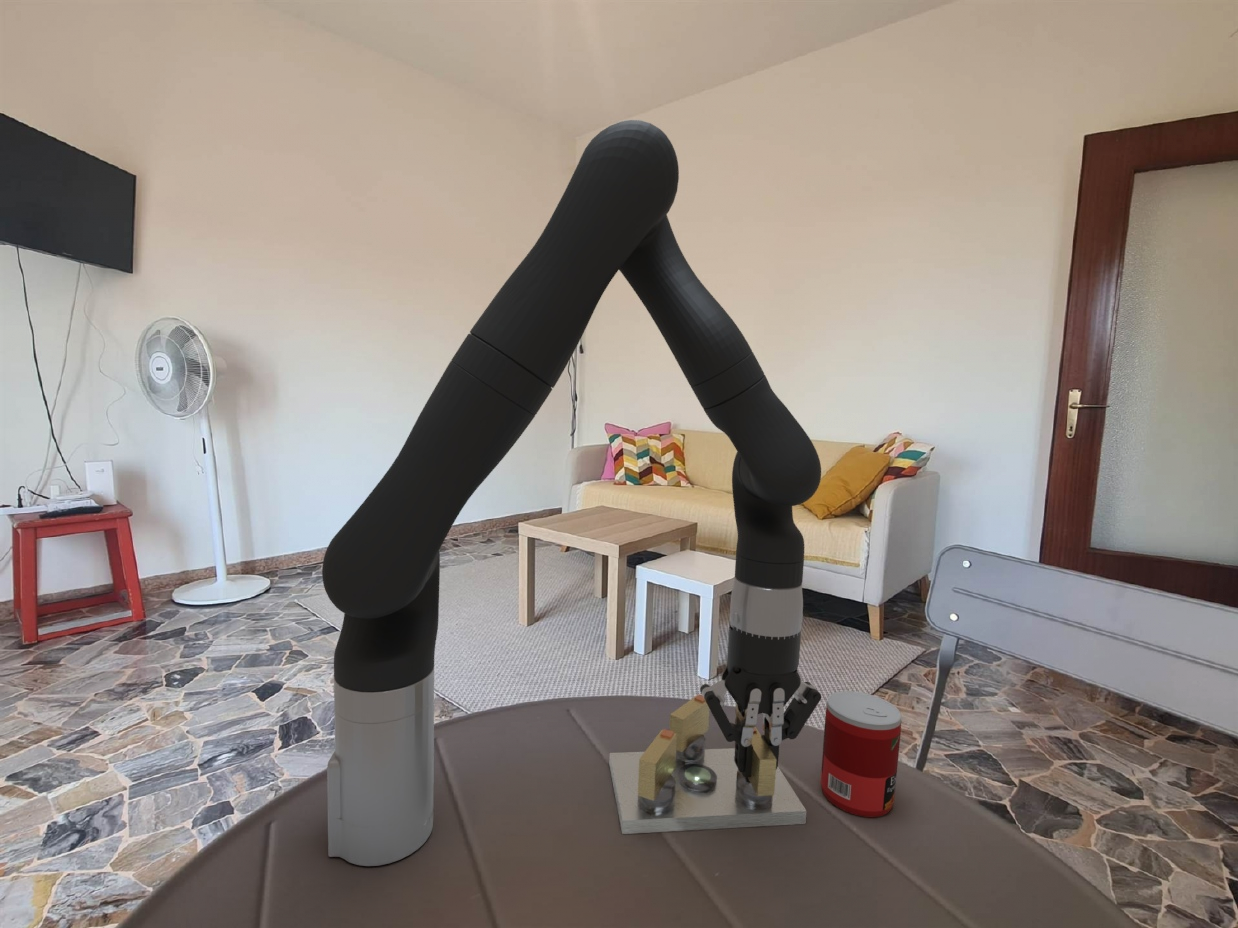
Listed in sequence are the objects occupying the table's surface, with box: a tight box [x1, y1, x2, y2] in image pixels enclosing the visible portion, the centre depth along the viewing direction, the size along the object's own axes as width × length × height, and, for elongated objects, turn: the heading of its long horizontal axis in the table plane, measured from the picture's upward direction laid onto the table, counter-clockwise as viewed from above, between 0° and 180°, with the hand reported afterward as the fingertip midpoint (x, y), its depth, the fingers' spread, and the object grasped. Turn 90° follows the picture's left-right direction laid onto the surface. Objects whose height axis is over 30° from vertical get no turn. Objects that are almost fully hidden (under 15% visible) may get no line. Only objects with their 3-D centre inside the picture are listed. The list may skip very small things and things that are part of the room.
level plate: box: [608, 747, 807, 835], centre depth 69 cm, size 20×12×2 cm, turn 97°
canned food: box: [820, 690, 902, 818], centre depth 69 cm, size 8×8×11 cm
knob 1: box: [638, 728, 677, 815], centre depth 65 cm, size 6×4×7 cm, turn 155°
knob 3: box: [735, 726, 777, 810], centre depth 66 cm, size 6×4×7 cm, turn 7°
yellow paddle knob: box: [668, 693, 711, 766], centre depth 73 cm, size 6×4×7 cm, turn 142°
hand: (755, 771), depth 66 cm, fingers closed on knob 3, 2 cm apart
